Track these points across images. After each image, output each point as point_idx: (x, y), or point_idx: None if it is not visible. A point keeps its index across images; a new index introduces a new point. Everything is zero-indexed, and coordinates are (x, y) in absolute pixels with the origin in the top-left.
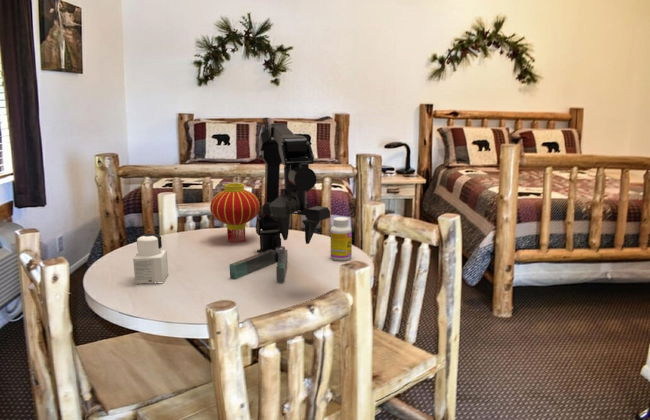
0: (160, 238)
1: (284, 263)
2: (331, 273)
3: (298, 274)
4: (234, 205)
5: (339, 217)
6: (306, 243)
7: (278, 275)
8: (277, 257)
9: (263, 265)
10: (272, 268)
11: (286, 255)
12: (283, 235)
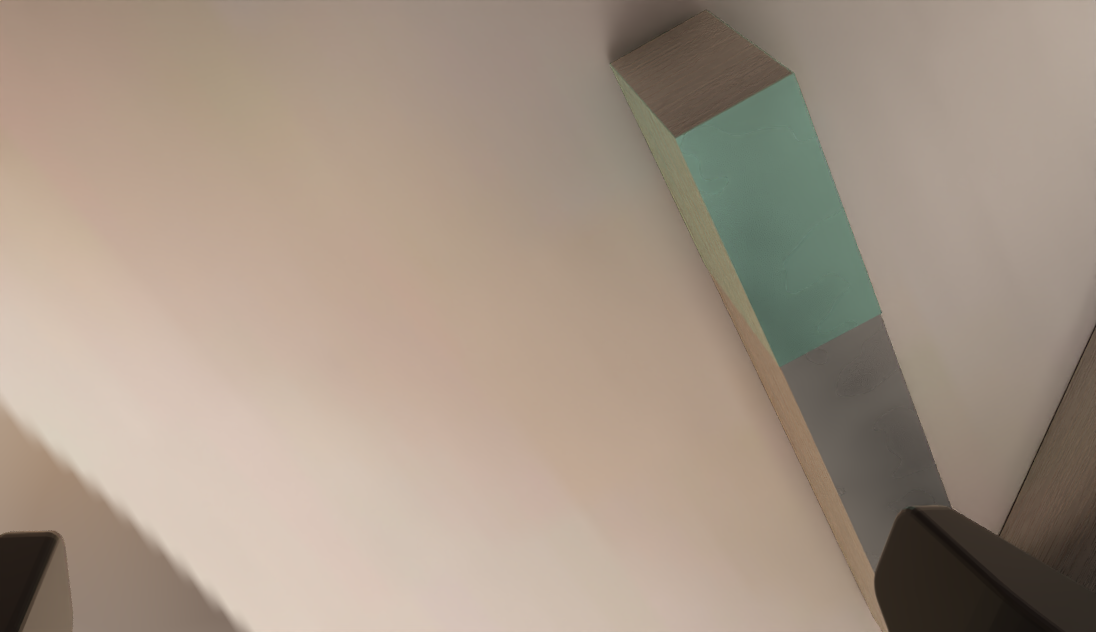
0: None
1: (765, 332)
2: (253, 615)
3: (594, 413)
4: None
5: None
6: (16, 535)
7: (714, 53)
8: None
9: (1087, 404)
10: (965, 420)
11: None
12: (1026, 585)
